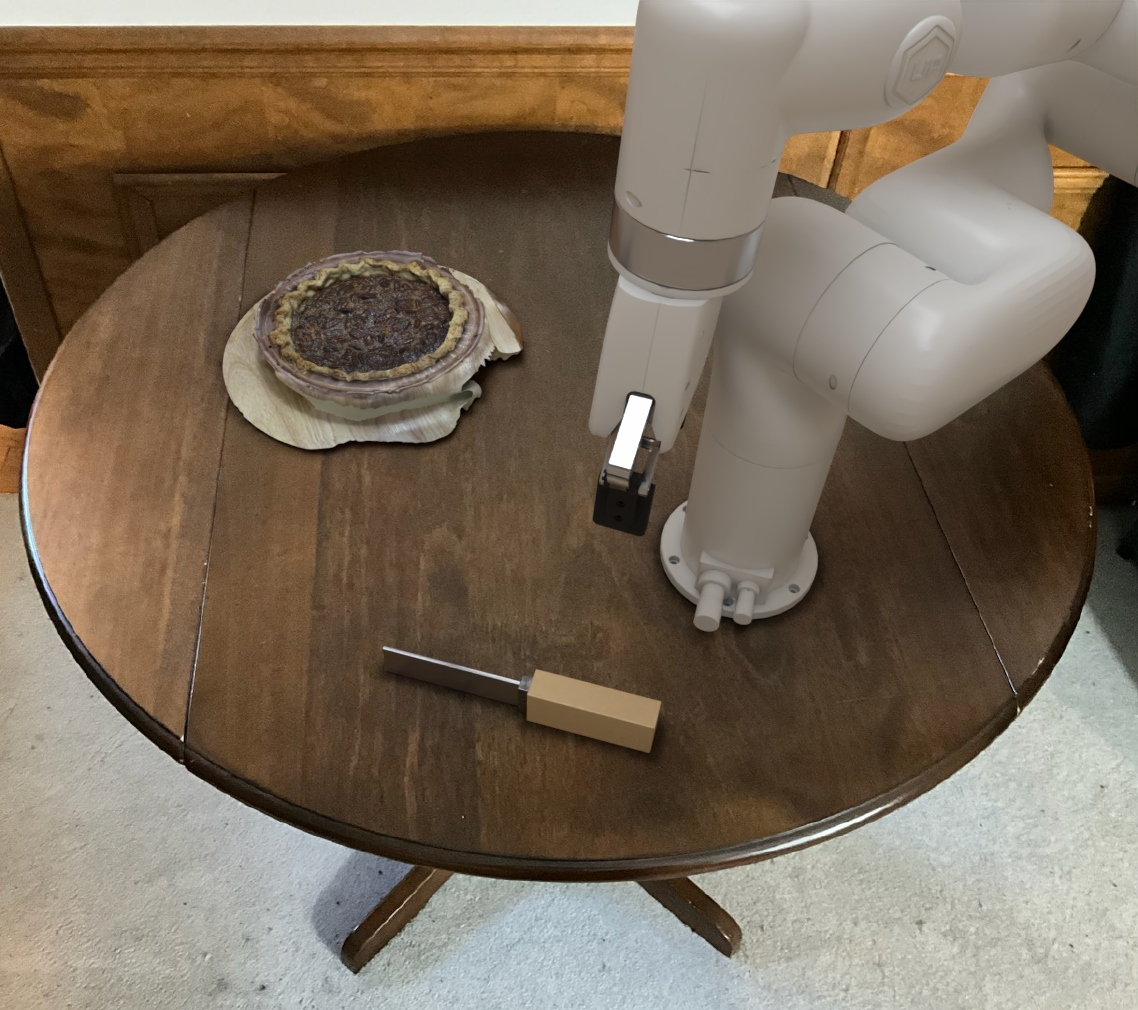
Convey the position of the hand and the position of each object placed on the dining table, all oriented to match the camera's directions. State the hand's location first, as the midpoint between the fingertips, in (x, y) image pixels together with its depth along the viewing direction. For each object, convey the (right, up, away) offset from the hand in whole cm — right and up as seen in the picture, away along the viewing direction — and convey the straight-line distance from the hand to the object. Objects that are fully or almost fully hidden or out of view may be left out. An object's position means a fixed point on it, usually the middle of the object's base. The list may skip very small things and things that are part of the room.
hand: (640, 472), depth 64 cm
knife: (-7, -17, +10) cm, 21 cm away
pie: (-23, +13, +35) cm, 43 cm away
